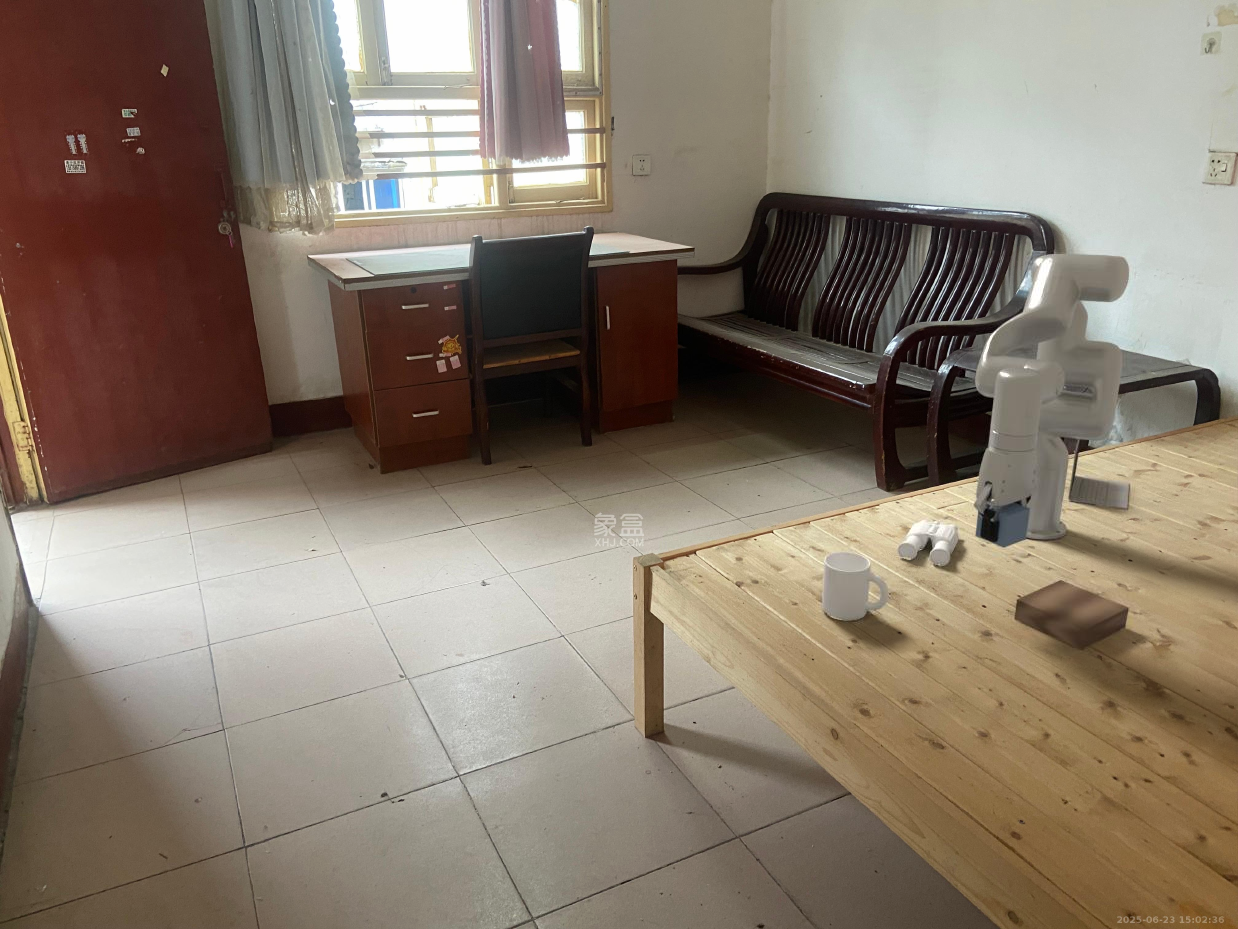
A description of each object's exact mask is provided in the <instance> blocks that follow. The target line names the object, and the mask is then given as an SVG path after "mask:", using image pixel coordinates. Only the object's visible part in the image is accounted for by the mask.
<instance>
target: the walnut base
mask: <svg viewBox="0 0 1238 929" xmlns="http://www.w3.org/2000/svg"><path fill="white" fill-rule="evenodd" d="M1129 609H1130V607H1128V606H1127V605H1123V604H1120V603H1118V602H1116V601H1113V600H1111V599H1108V598H1106V597H1104V596H1102V595H1099V594H1096V593H1093V592H1091V591H1089V590H1086V589H1085V588H1081V587H1079V586H1076V585H1075V584H1074V585H1073V583H1069V582H1066V581H1064V580H1062V579H1059V580H1057V581H1055V582H1052V583H1050V584H1048V585H1045V586H1044V587H1041V588H1039V589H1037V590H1035V591H1031V592H1030V593H1028V594H1026V595H1023V596H1022V597H1019V598H1017V599H1016V604H1015V612H1014V617H1013V618H1014V620H1015V621H1018V622H1020V623H1022V624H1024V625H1026V626H1029V627H1031V628H1032V629H1035V630H1038V632H1039V631H1040V632H1042V633H1044V634H1046V635H1048V636H1051V637H1053V638H1055V639H1057V640H1059V641H1061V642H1063V643H1065V644H1067V645H1070V646H1072V647H1073V648H1076V649H1079V650H1080V651H1084V650H1085V649H1086V648H1089V647H1090V646H1092V645H1095V644H1096V643H1098V642H1100V641H1102V640H1104V639H1106V638H1108V637H1110V636H1112V635H1114V634H1115V633H1118V632H1120V631H1122V630H1123V629H1125V628H1126V625H1127V621H1128V614H1129Z"/></svg>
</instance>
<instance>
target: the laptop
mask: <svg viewBox="0 0 1238 929" xmlns="http://www.w3.org/2000/svg"><path fill="white" fill-rule="evenodd" d="M1081 440H1082V439H1077V442H1076V447H1075V452H1074V457H1073V463H1072V464H1073V465H1072V470H1071V471H1072V472H1071V479H1070V485H1069V491H1068V496H1067V497H1068V498H1067V499H1068V502H1073V503H1076V504H1078V503H1080V504H1081V503H1083V504H1085V505H1086V504H1089V505H1094V506H1097V507H1106V508H1112V509H1122V510H1128V509H1129V508H1128V507H1129V506H1128V505H1129V494H1130V492H1129V491H1130V483H1129V482H1126V481H1125V482H1123V481H1117V480H1109V479H1102V478H1094V477H1086V476H1079V475H1076V473H1077V465H1078V459H1079V453H1080V447H1081Z"/></svg>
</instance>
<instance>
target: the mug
mask: <svg viewBox="0 0 1238 929" xmlns="http://www.w3.org/2000/svg"><path fill="white" fill-rule="evenodd" d="M871 566H872V564H871V560H870V559H869V558H867V557H866V556H864V555H862V554H859V553H856V552H850V551H837V552H831V553H829V554H828V555H826V556H825V558H824V560H823V573H822V574H823V575H822V578H823V579H822V597H821V608H823V609H822V610H824V611H825V612H826V613H828V614H829V615H830V616H834V617H836V618H839V619H842V620H855V621H858V620H861V619H863V618H864V617H865V615H867V613H868V612H867V611H877V610H881V609H883V607H885V605H886V604H887V602H888V600H889V588H888V584H886V582H885V580H884V579H883V577H881V576H880V575H878V574H876V573H873V572H871ZM870 582H872V583H874V584H876V585H877V586H878V587H879V589H880V590H879V591H880V598H879V600H878V601H877V602H870V601H869V594H870V593H869V592H870ZM824 611H823V612H824ZM825 612H824V613H825ZM860 618H861V619H860ZM857 619H858V620H857Z"/></svg>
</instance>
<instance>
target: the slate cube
mask: <svg viewBox="0 0 1238 929" xmlns="http://www.w3.org/2000/svg"><path fill="white" fill-rule="evenodd" d="M994 501H995V500H994V499H992V500H991V502H994ZM994 508H995V507H993V506H991V505H990V508H989V509H990V510H991V512H992V513H993V511H994ZM1029 513H1030V508H1027V507H1024V506H1022V505H1019V504H1016V503H1010V504H1007V505H1004V506H1002V508H1001V511H1000V514H999V516H998V519H997V521H999V531H998V539H997V542H991V541H989V540H986V539H984V538H982V537H981V536H980V532H981V524H982V518H981V517H980V514H979V512H978V511H977V516H976V518H977V519H976V526H975V534H974V535H975V537H977V538H980V539H981V540H984V541H987V542H989V543H992V544H993V545H996V546H998V547H1001V548H1007V547H1009V546H1012V545H1013V546H1014V544H1017V543H1020V542H1022V541H1023V542H1024V541H1025V540H1027V537H1026V535H1027V528H1028V520H1029Z"/></svg>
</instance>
